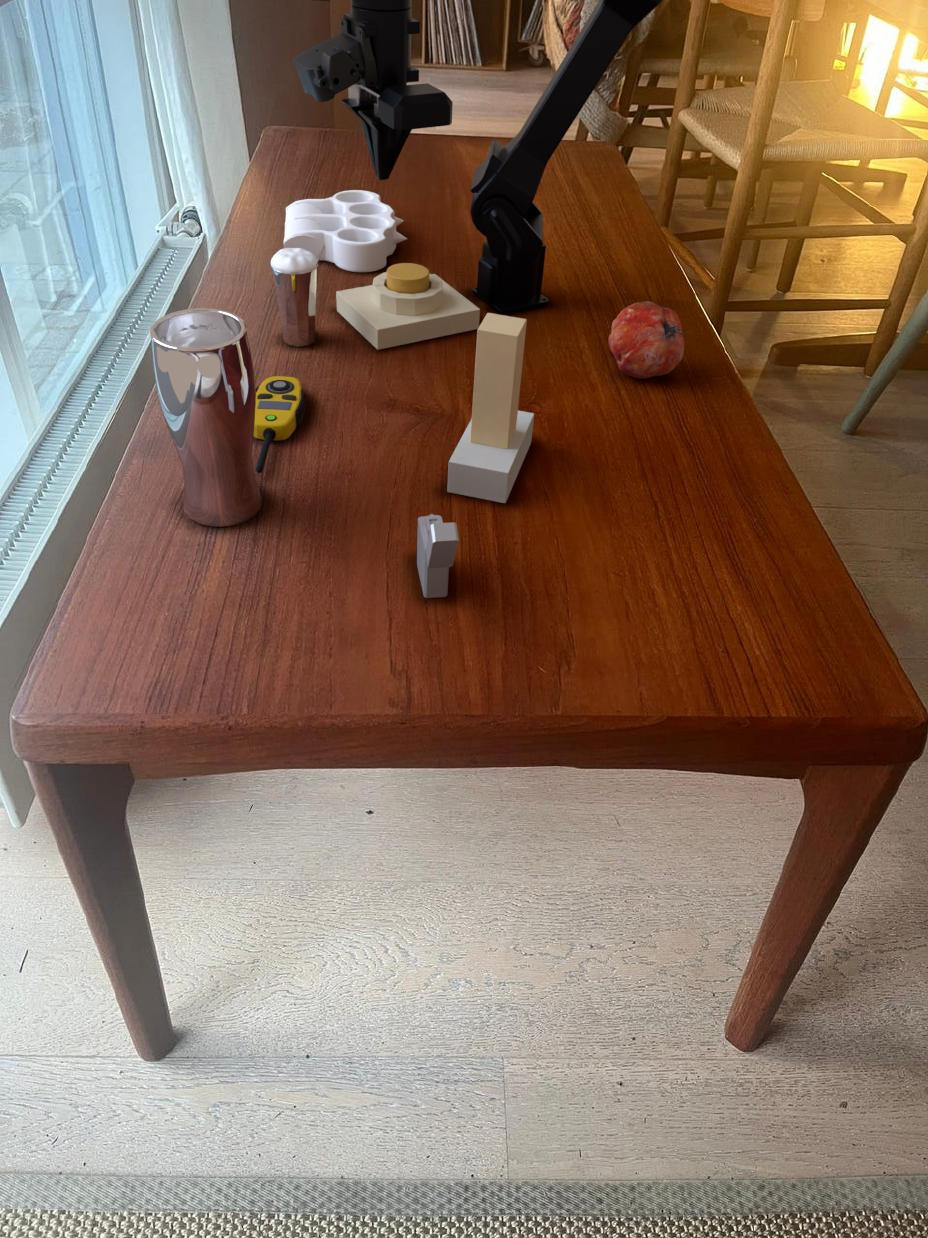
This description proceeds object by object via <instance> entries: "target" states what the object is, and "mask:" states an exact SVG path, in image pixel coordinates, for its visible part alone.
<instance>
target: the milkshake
mask: <svg viewBox="0 0 928 1238" xmlns="http://www.w3.org/2000/svg"><path fill="white" fill-rule="evenodd" d="M323 249H324V246H323V248H322V251H321V254H322V252H323ZM321 254H320V256H319V259H320V257H321ZM319 259H318V260H317V258H316V257H315V256H314V255H313V254H312V253H311V252H309V251H306V250H304V249H302V248H284V247H283V248H281V249H279V250H278V251H277V252H275V254H274V255H273V256H272V257H271V259H270V268H271V274H272V279H273V284H274V290H275V294H276V301H277V307H278V313H279V320H280V327H281V333H282V339H283V342H284V343H285V344H287V345H289V346H291V347H298V348H301V347H308V346H311V345H312V344H314V343H315V342H316V309H317V308H316V305H317V288H318V274H319V273H318V272H319V271H318V270H319V262H320V260H319Z"/></svg>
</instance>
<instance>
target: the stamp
mask: <svg viewBox="0 0 928 1238" xmlns="http://www.w3.org/2000/svg"><path fill="white" fill-rule="evenodd" d="M527 323H528V319H527V318H522V317H515V316H510V315H505V314H499V313H498V314H497V313H493V312H487V313H486V315H485V316H484V318H483V320H482V321H481V323H480V324H479V328H478V329H476V330H477V331H476V348H475V362H474V375H473V376H474V377H473V378H474V379H473V390H472V391H473V394H472V408H471V418H470V421H469V422H468V424H467V426H466V428H465V430H464V432H463V434H462V436H461V437H460V440H459V441H458V443H457V445H456V447H455V449H454V451H453V452H452V454H451V457H450V459H448V460H449V461H448V466H447V467H448V469H447V470H448V471H447V488H446V489H447V490H446V492H447V493H451V494H456V495H460V496H465V497H470V498H476V499H481V500H485V501H491V502H496V503H501V504H506V503H507V501H508V499H509V496H510V494H511V491H512V489H513V487H514V484H515V483H516V479H517V477H518V475H519V473H520V470H521V468H522V465H523V464H524V460H525V458H526V456H527V453H528V451H529V449H530V446H531V444H532V439H533V430H534V422H535V413H534V412H529V411H524V410H519V403H520V402H519V401H520V395H521V394H520V393H521V384H522V382H521V381H522V373H523V365H524V364H523V363H524V353H525V343H526V333H527Z"/></svg>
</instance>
